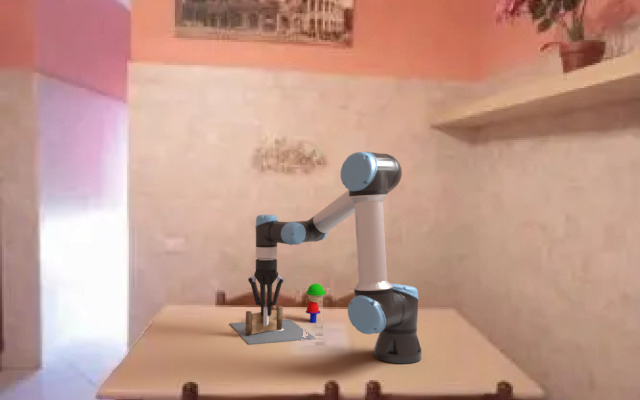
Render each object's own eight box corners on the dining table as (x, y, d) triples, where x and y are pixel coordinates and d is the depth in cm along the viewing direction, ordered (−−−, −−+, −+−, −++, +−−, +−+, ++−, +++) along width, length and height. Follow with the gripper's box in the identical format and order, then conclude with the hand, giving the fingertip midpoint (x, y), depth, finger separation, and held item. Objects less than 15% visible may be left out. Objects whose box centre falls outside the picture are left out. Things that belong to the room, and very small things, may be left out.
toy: (325, 324, 221) (326, 285, 220) (304, 323, 221) (305, 285, 220) (325, 319, 229) (326, 282, 228) (305, 318, 229) (306, 281, 228)
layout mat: (315, 338, 200) (315, 337, 200) (248, 344, 191) (248, 343, 191) (289, 319, 226) (289, 318, 226) (229, 324, 217) (229, 322, 217)
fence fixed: (282, 331, 209) (283, 306, 209) (276, 331, 208) (277, 307, 208) (270, 320, 224) (270, 298, 223) (264, 321, 223) (264, 298, 222)
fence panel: (273, 328, 210) (274, 306, 209) (277, 329, 208) (277, 307, 208) (244, 334, 201) (244, 311, 201) (247, 335, 199) (248, 312, 199)
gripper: (286, 257, 205) (285, 322, 206) (251, 256, 207) (251, 321, 207) (281, 260, 197) (281, 328, 198) (246, 259, 199) (245, 326, 200)
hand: (266, 324), depth 203 cm, fingers closed
